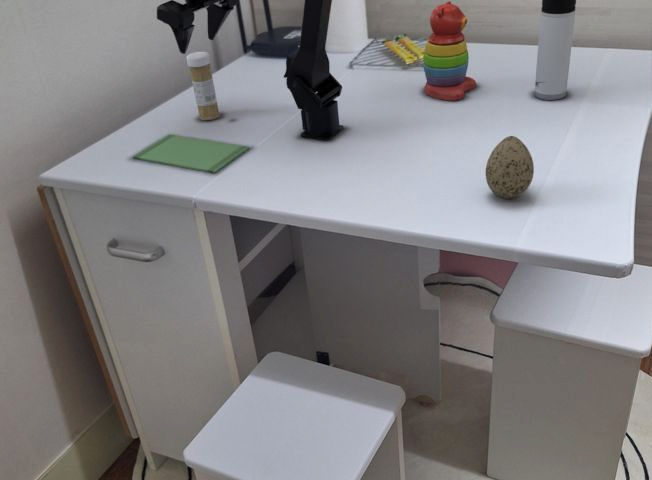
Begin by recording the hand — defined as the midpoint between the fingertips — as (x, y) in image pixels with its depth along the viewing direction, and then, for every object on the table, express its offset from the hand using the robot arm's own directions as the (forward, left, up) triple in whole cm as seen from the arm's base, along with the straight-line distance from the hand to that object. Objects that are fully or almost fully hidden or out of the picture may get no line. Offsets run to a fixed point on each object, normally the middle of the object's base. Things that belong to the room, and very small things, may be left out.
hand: (197, 46), depth 140 cm
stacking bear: (-43, -28, -15) cm, 53 cm away
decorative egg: (-69, +13, -15) cm, 72 cm away
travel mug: (-64, -31, -15) cm, 72 cm away
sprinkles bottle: (0, 0, -15) cm, 15 cm away
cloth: (-8, +16, -15) cm, 24 cm away
